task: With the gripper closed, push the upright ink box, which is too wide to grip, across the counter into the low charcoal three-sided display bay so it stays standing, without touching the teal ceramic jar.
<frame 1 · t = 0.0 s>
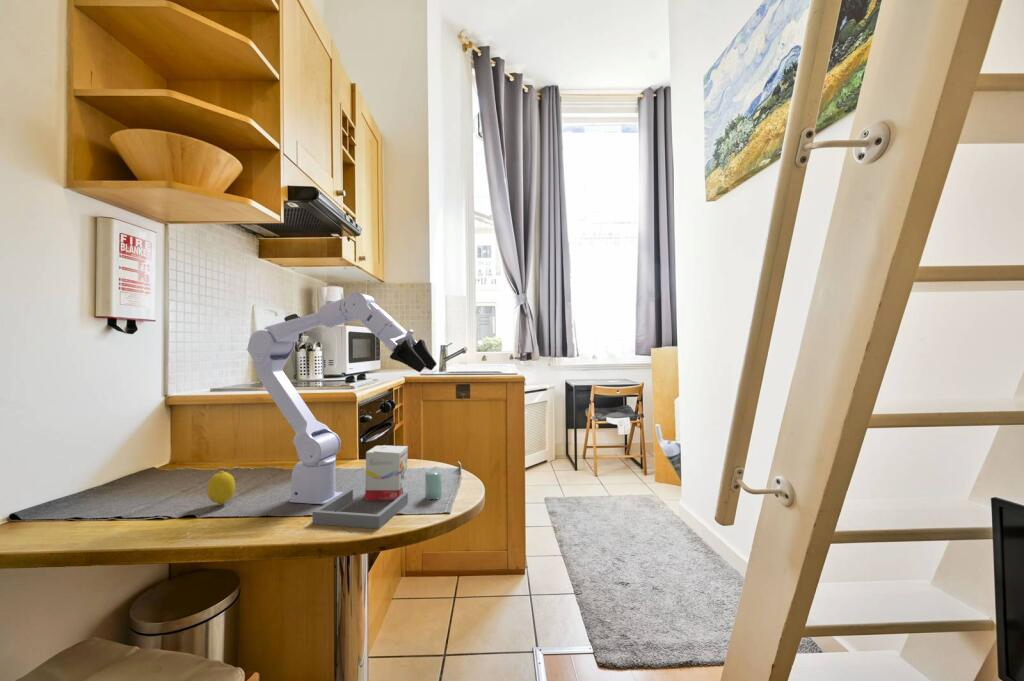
hand: (428, 368, 108), 32 cm above the counter, tool tilted 50°, fingers open, 7 cm apart
teal ceramic jar: (433, 497, 114), on the counter
lemon: (221, 505, 108), on the counter
display bay: (362, 513, 103), on the counter
ink box: (386, 496, 116), on the counter
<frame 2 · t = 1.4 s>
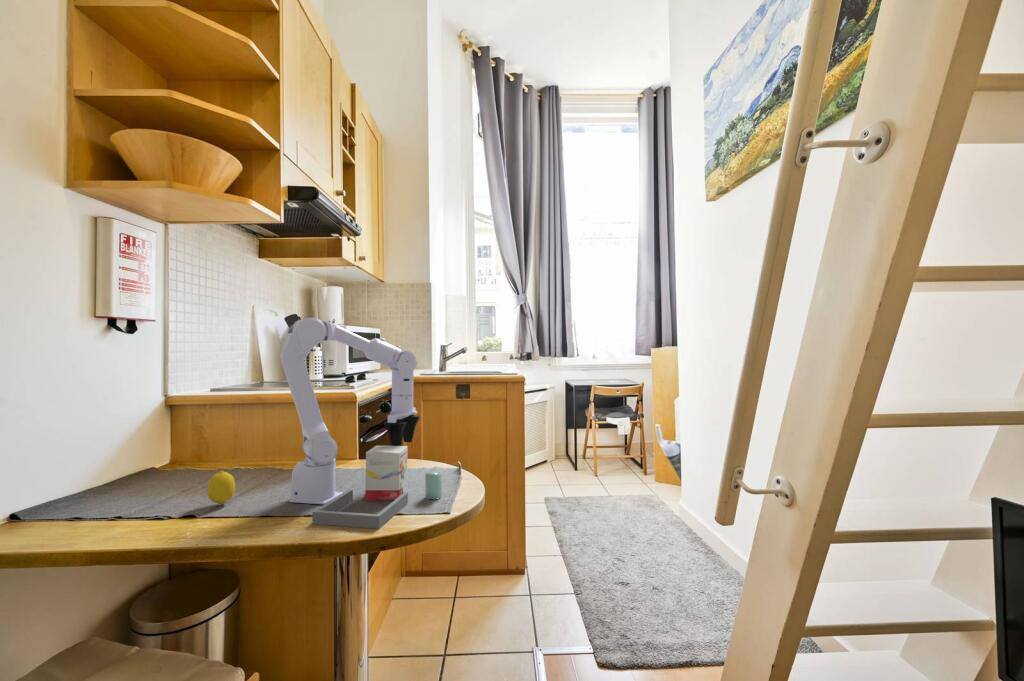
hand: (402, 445, 125), 10 cm above the counter, tool pointing down, fingers open, 7 cm apart
nothing on the counter moved.
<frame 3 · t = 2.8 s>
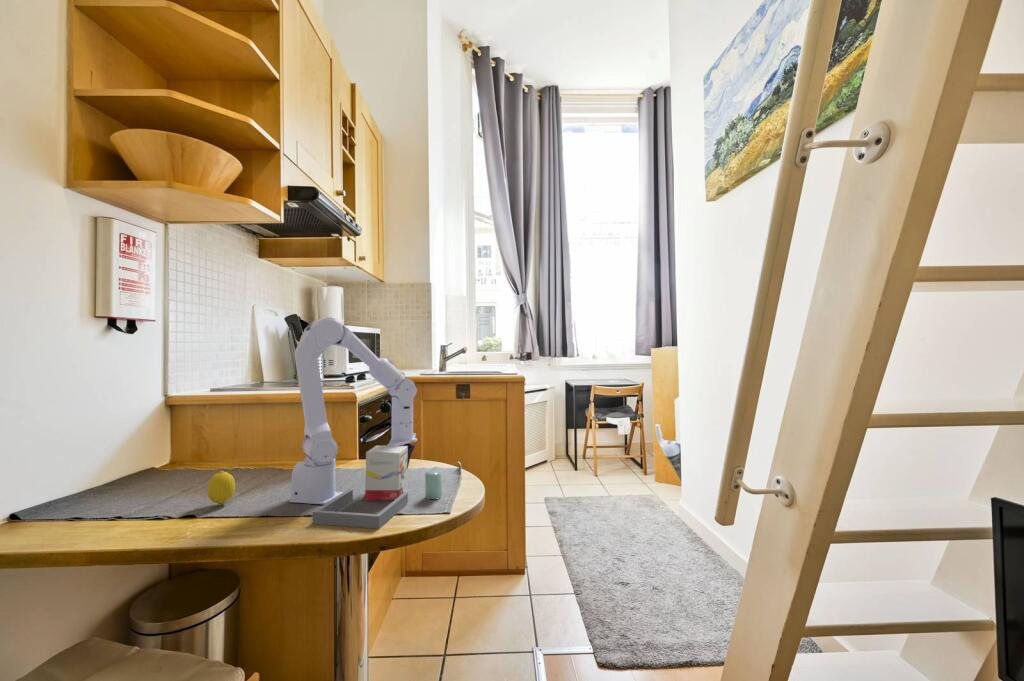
hand: (402, 472, 125), 3 cm above the counter, tool pointing down, fingers closed
nothing on the counter moved.
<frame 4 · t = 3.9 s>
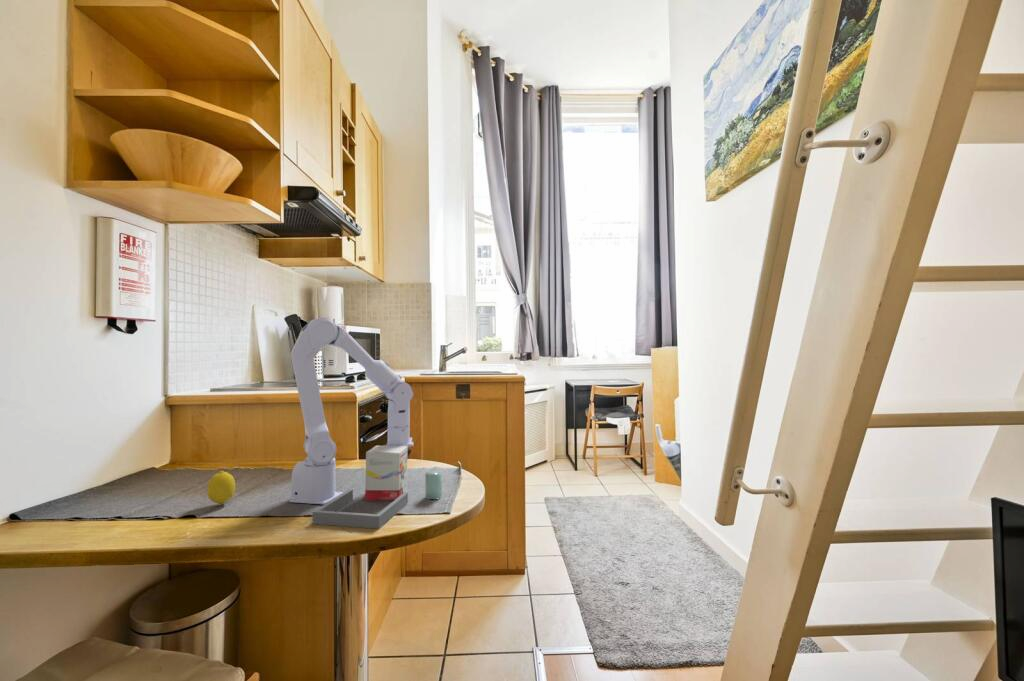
hand: (398, 477, 123), 2 cm above the counter, tool pointing down, fingers closed
ink box: (386, 496, 116), on the counter, touching gripper
everything else where it was.
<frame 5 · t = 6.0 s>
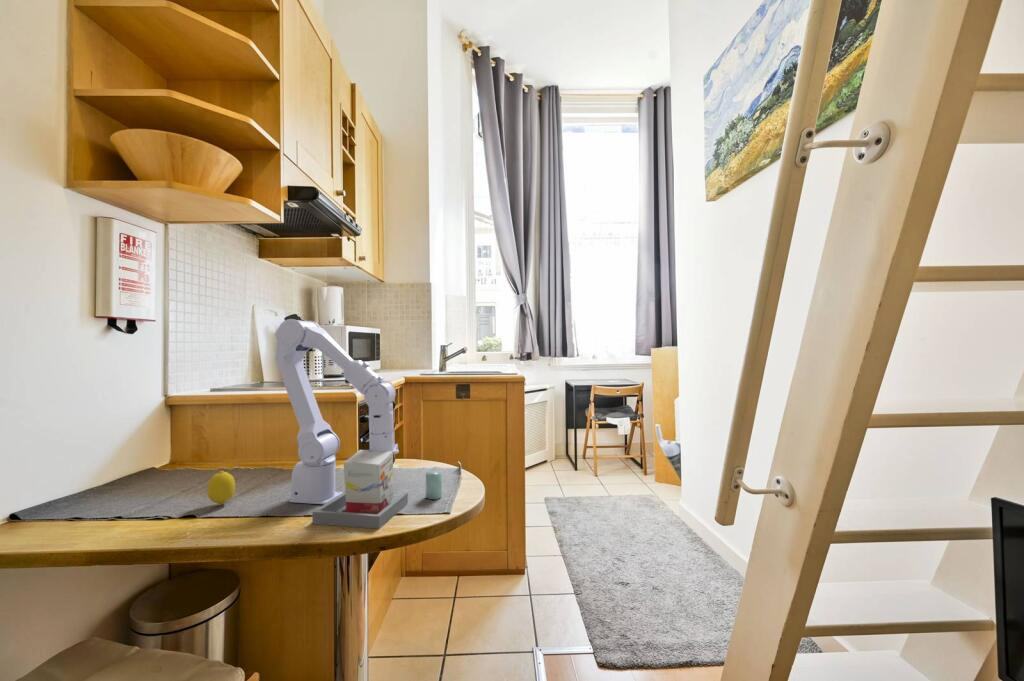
hand: (382, 488, 112), 3 cm above the counter, tool pointing down, fingers closed, pressing on ink box
ink box: (371, 505, 107), resting in display bay, touching gripper
everything else where it was.
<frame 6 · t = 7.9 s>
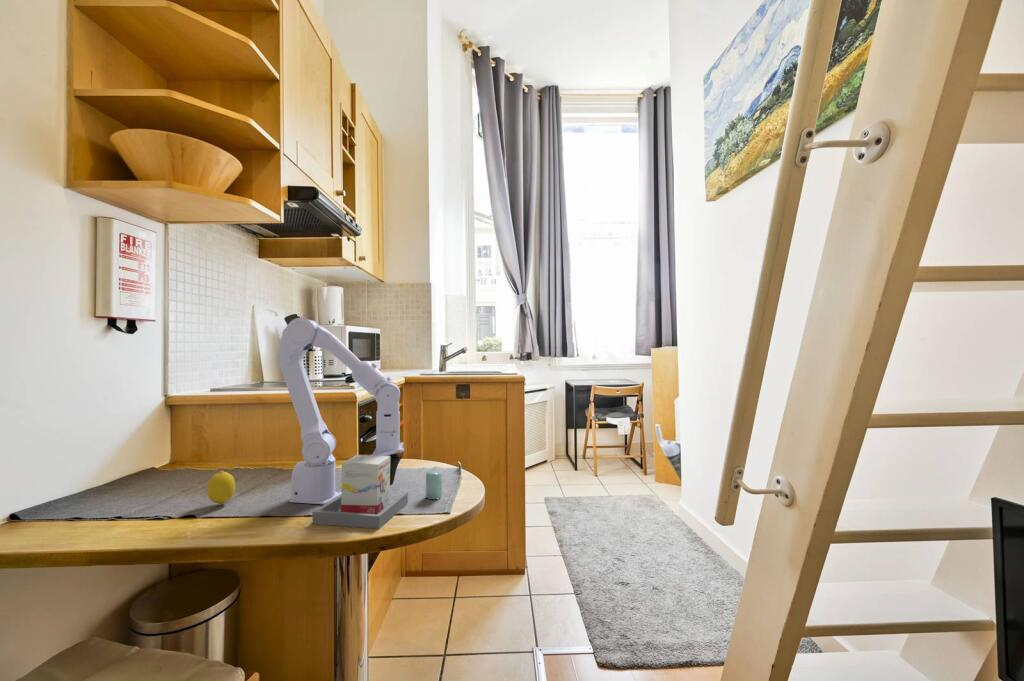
hand: (387, 484, 116), 2 cm above the counter, tool pointing down, fingers closed
ink box: (366, 510, 105), resting in display bay
everything else where it was.
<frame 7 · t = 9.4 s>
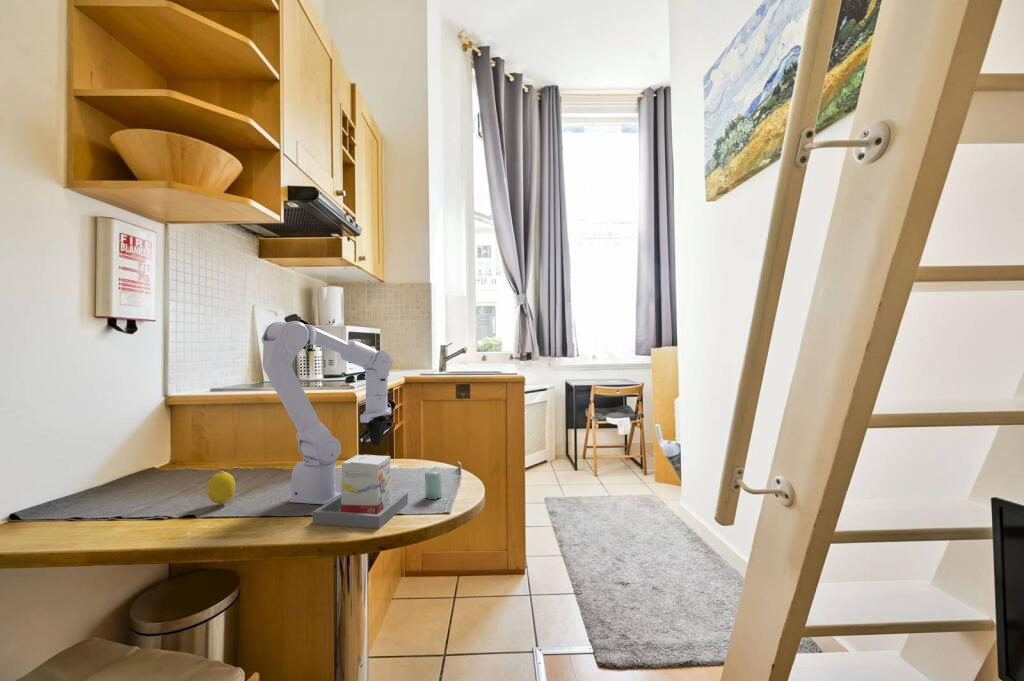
hand: (376, 444, 125), 10 cm above the counter, tool pointing down, fingers closed
nothing on the counter moved.
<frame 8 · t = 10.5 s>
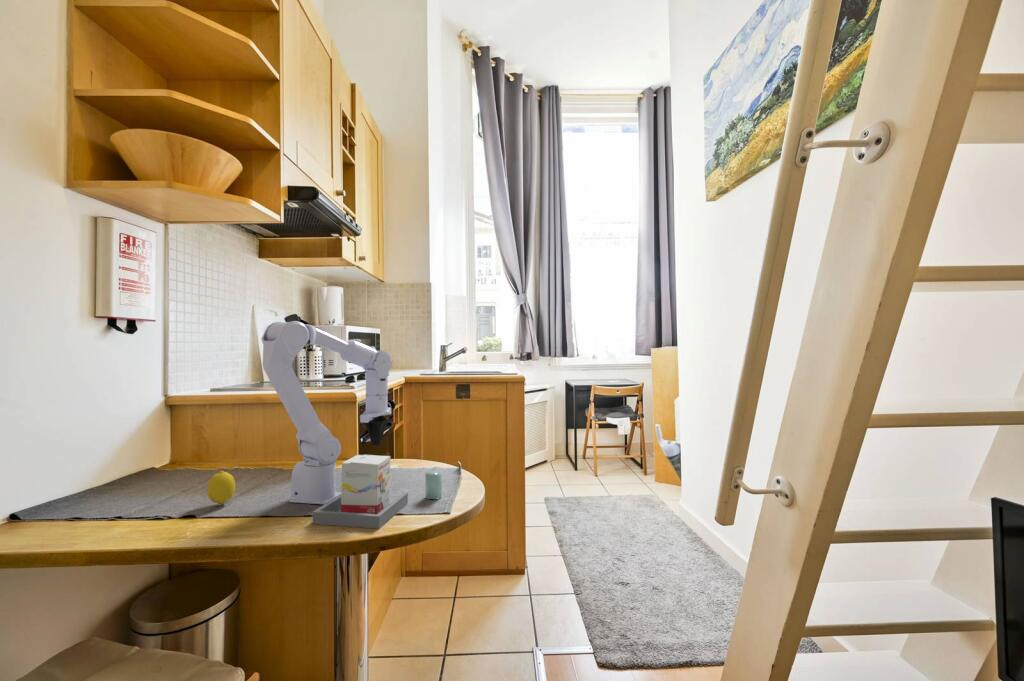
hand: (376, 444, 125), 10 cm above the counter, tool pointing down, fingers closed
nothing on the counter moved.
at the end: ink box inside the target area on the display bay (3.1 cm from its centre), point 0.0 cm above the display bay's base; ink box tilted 0°; teal ceramic jar moved 0.0 cm from its start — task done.
